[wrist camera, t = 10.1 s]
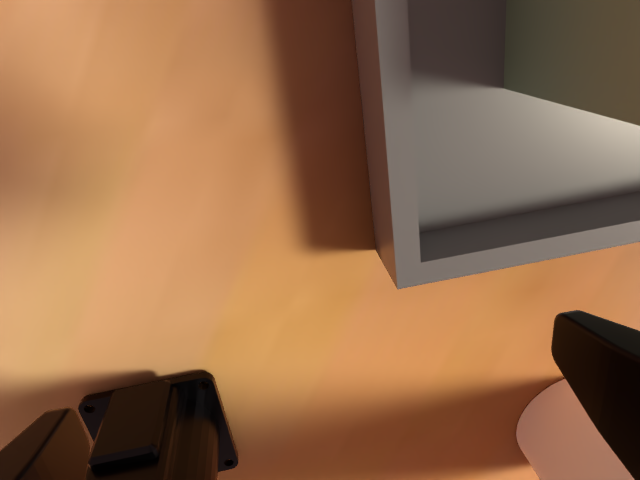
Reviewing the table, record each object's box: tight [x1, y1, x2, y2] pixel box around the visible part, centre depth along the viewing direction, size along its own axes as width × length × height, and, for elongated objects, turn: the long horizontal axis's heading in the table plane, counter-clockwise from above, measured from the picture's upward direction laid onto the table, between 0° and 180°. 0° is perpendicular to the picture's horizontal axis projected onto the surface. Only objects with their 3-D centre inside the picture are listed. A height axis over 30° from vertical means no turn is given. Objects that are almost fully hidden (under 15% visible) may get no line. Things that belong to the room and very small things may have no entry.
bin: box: [352, 0, 640, 289], centre depth 17 cm, size 18×16×4 cm
